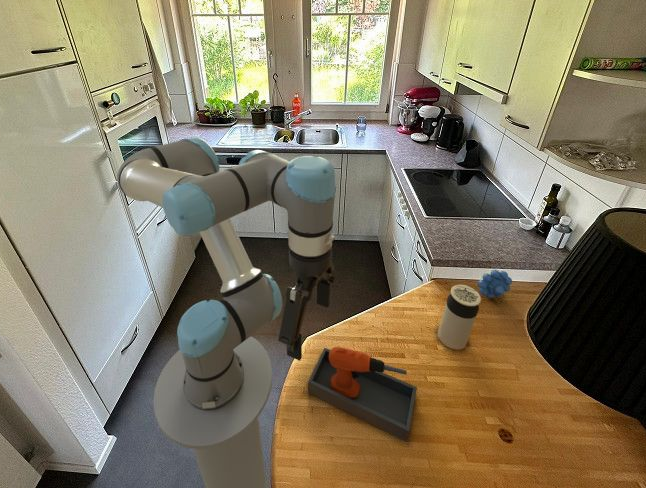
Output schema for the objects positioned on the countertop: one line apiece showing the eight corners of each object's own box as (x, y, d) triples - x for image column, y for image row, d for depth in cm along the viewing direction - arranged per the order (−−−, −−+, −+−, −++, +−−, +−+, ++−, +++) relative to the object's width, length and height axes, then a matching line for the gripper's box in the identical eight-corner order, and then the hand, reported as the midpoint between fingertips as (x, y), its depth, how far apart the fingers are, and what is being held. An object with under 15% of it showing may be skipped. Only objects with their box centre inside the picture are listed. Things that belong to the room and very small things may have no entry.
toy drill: (405, 415, 76) (406, 374, 69) (328, 393, 82) (322, 354, 76) (406, 395, 80) (407, 354, 73) (333, 376, 86) (328, 337, 80)
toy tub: (307, 392, 82) (307, 382, 80) (324, 357, 91) (324, 347, 88) (406, 442, 73) (409, 431, 70) (414, 397, 81) (417, 387, 79)
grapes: (480, 308, 106) (490, 281, 100) (469, 292, 112) (478, 266, 106) (514, 305, 107) (526, 278, 101) (501, 290, 112) (511, 264, 107)
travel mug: (464, 355, 91) (480, 310, 83) (434, 342, 95) (447, 298, 86) (468, 334, 97) (483, 290, 89) (440, 322, 101) (452, 279, 92)
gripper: (296, 303, 44) (298, 393, 54) (354, 214, 64) (347, 292, 74) (251, 286, 47) (260, 374, 57) (319, 206, 67) (317, 282, 77)
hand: (309, 328), depth 66 cm, fingers open, 13 cm apart
